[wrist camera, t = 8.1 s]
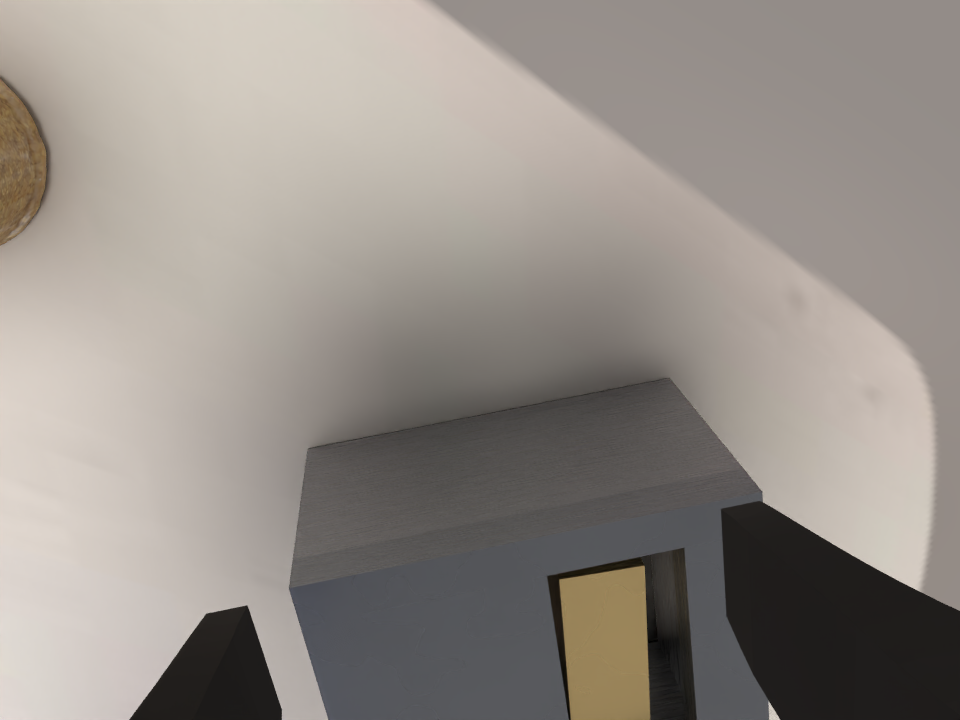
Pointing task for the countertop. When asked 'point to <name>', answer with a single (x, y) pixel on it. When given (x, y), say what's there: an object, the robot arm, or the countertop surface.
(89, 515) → the countertop surface
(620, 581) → the block
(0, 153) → the sprinkles bottle
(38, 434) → the countertop surface
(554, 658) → the box
